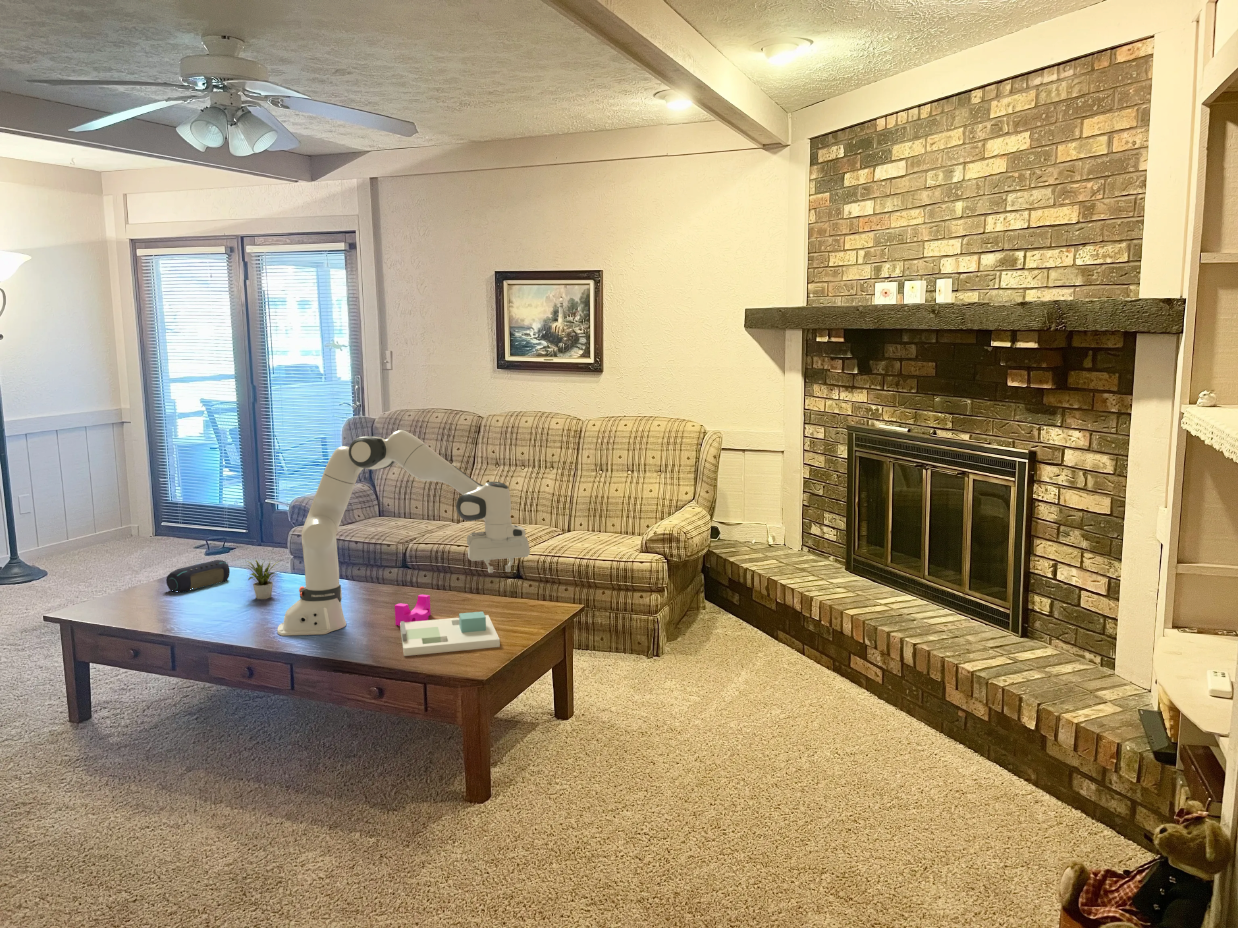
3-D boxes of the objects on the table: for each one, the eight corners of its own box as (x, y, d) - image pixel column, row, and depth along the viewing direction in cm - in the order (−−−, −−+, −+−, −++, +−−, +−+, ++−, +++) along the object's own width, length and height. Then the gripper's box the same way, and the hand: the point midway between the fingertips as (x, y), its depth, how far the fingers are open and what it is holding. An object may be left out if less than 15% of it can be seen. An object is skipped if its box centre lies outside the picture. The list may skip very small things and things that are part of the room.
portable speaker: (180, 597, 361) (178, 572, 359) (164, 594, 366) (162, 569, 364) (235, 582, 382) (233, 559, 381) (219, 580, 387) (217, 556, 386)
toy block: (410, 628, 318) (409, 607, 317) (395, 626, 321) (394, 605, 320) (436, 616, 332) (435, 596, 331) (422, 614, 334) (421, 594, 333)
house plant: (232, 603, 351) (229, 561, 349) (254, 593, 365) (251, 553, 362) (266, 605, 348) (263, 562, 346) (287, 595, 361) (284, 554, 359)
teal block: (461, 632, 304) (461, 619, 303) (459, 626, 310) (459, 613, 310) (486, 630, 306) (485, 617, 305) (483, 624, 312) (483, 611, 312)
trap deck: (403, 655, 289) (403, 640, 288) (400, 629, 316) (399, 615, 315) (499, 646, 297) (499, 631, 296) (488, 621, 324) (488, 607, 323)
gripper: (467, 534, 301) (469, 576, 302) (530, 530, 306) (531, 571, 308) (465, 530, 307) (467, 571, 308) (526, 527, 312) (527, 567, 314)
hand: (499, 571), depth 308 cm, fingers open, 4 cm apart
